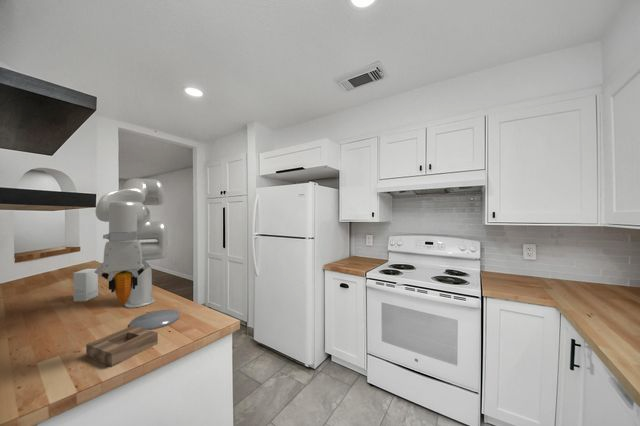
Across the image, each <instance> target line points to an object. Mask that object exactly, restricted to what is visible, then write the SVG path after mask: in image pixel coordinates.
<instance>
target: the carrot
mask: <svg viewBox="0 0 640 426" xmlns="http://www.w3.org/2000/svg"><path fill="white" fill-rule="evenodd" d="M113 277H114V285H115V291H114V293H115V295H116V297H117V300H118V301H119V303H120V304H121V305H123V306H125V303H126V302H127V301H129V296H130V293H131V289H132V277H133V274H132V272H129V270H128V271H120V272H116V273H115V274H114V276H113Z"/></svg>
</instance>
